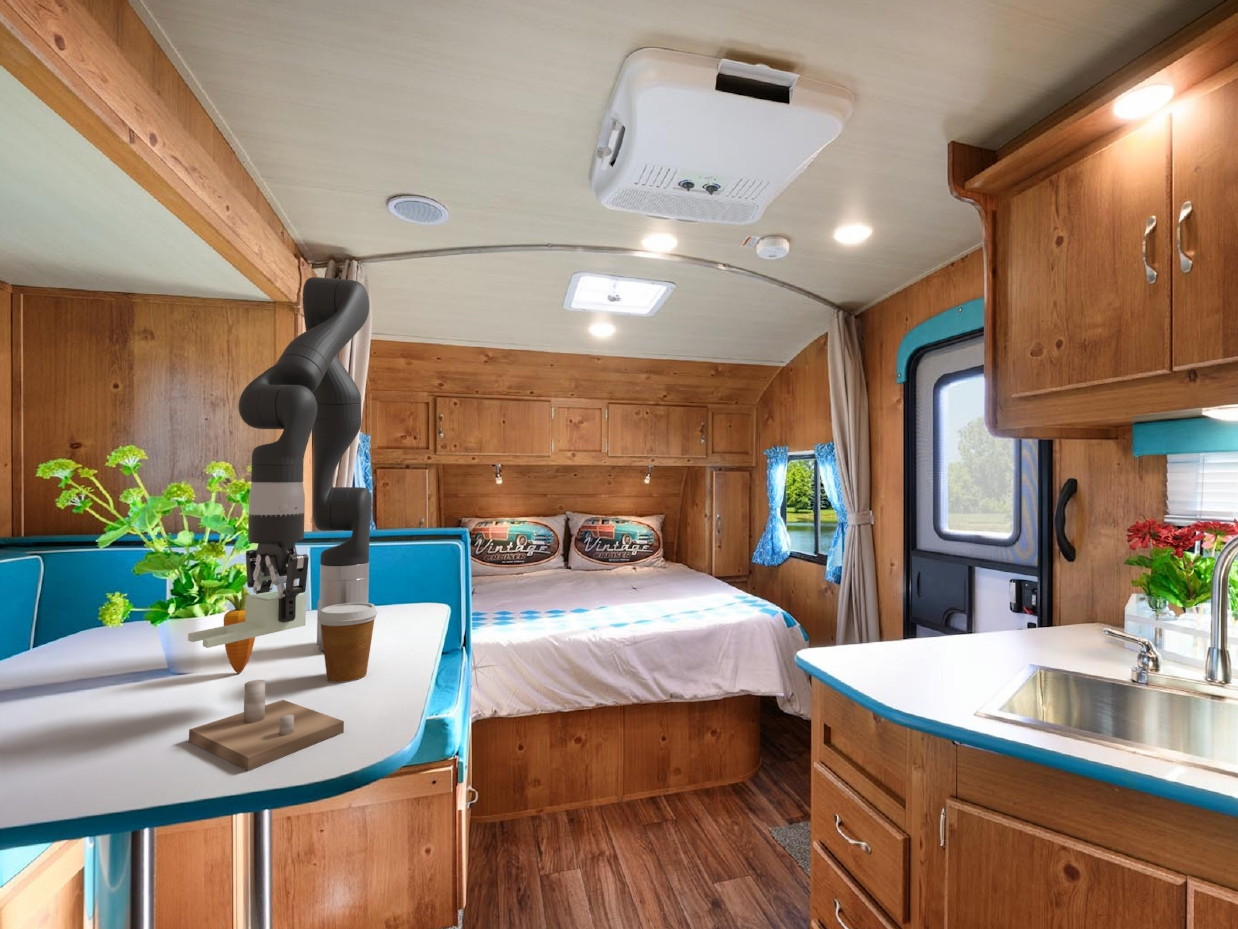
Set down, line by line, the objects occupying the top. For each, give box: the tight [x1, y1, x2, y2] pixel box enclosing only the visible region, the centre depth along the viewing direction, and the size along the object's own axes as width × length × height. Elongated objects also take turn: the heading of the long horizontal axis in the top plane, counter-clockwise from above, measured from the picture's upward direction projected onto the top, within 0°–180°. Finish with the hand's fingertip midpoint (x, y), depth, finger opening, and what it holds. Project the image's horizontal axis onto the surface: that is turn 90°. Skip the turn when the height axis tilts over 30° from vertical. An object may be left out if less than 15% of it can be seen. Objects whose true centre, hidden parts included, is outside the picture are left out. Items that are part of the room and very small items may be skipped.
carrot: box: [223, 587, 256, 675], centre depth 100 cm, size 5×5×15 cm
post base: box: [188, 679, 345, 772], centre depth 75 cm, size 15×12×6 cm
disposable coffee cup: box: [318, 602, 378, 683], centre depth 99 cm, size 10×10×12 cm
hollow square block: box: [187, 589, 307, 649], centre depth 84 cm, size 14×6×5 cm, turn 148°
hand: (275, 618), depth 88 cm, fingers closed on hollow square block, 6 cm apart
